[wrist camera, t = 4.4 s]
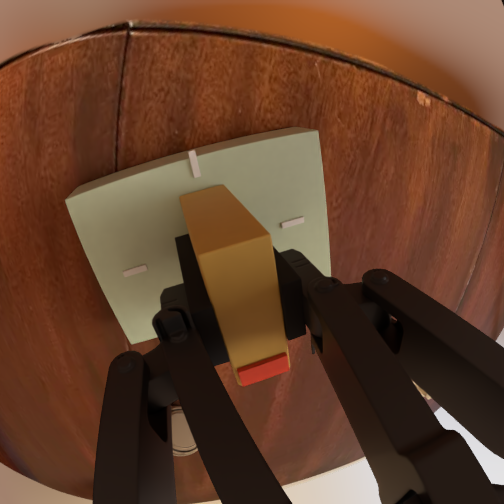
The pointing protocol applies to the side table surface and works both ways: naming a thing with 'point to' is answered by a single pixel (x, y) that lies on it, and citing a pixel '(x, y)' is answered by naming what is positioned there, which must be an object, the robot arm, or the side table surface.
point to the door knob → (181, 434)
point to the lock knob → (239, 282)
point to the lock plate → (173, 222)
